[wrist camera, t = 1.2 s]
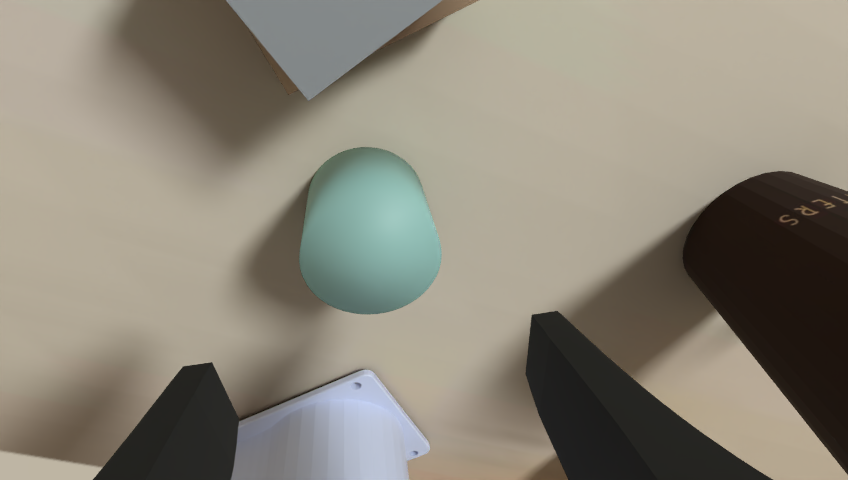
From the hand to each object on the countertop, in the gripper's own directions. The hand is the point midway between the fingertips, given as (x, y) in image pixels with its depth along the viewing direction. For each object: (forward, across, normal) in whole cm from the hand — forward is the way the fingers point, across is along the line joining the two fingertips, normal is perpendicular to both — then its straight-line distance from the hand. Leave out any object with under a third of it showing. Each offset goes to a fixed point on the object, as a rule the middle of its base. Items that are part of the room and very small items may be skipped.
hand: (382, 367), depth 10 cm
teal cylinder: (+8, 0, 0) cm, 8 cm away
